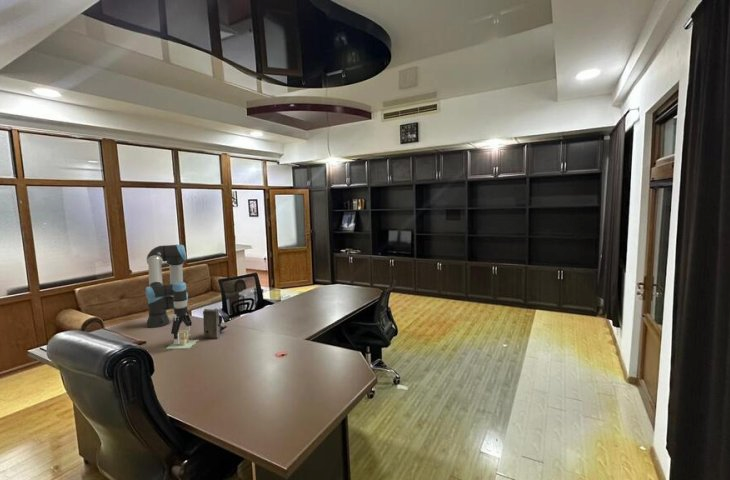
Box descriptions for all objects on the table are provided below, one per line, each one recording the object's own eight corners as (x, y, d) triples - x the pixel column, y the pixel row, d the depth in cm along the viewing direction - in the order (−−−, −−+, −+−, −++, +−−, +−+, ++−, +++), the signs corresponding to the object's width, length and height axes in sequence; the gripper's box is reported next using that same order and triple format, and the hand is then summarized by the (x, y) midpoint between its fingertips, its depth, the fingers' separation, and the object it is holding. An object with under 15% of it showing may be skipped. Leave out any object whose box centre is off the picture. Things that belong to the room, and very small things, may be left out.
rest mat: (177, 340, 225) (177, 340, 225) (199, 340, 225) (199, 339, 225) (165, 349, 211) (165, 348, 211) (188, 348, 211) (188, 347, 211)
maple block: (181, 342, 220) (180, 330, 220) (188, 342, 220) (188, 330, 220) (176, 345, 215) (176, 333, 215) (184, 345, 215) (184, 332, 215)
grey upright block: (229, 331, 242) (227, 304, 241) (217, 339, 226) (215, 309, 226) (216, 332, 243) (214, 304, 242) (203, 339, 227) (202, 309, 227)
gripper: (184, 302, 229) (186, 333, 230) (163, 312, 204) (165, 347, 205) (196, 301, 229) (198, 332, 230) (175, 312, 204) (177, 347, 205)
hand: (182, 339), depth 218 cm, fingers open, 13 cm apart
